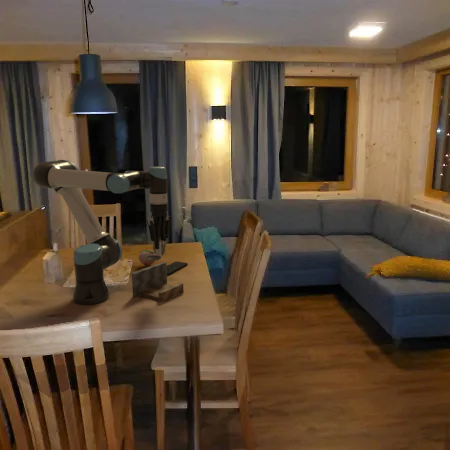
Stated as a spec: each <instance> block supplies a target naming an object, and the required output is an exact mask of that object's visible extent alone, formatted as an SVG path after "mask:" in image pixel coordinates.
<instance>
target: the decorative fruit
mask: <svg viewBox="0 0 450 450" xmlns="http://www.w3.org/2000/svg"><path fill="white" fill-rule="evenodd" d="M151 255H156V254H155V252H154V250H152V249H142V250H140V251H139V255H138V260H139V262H140V263H141V264H143V265H144V266H146V267H150V266H152V265H154V264H155V262H156V261H148V260H146V257H147V256H151Z"/></svg>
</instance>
